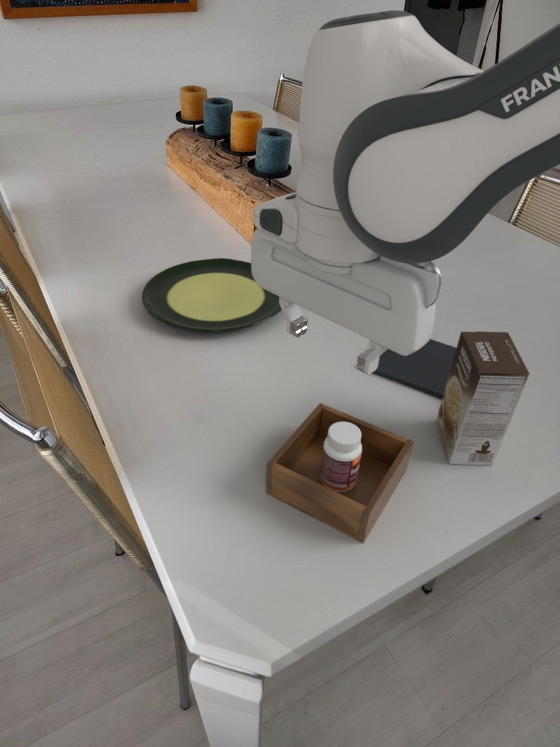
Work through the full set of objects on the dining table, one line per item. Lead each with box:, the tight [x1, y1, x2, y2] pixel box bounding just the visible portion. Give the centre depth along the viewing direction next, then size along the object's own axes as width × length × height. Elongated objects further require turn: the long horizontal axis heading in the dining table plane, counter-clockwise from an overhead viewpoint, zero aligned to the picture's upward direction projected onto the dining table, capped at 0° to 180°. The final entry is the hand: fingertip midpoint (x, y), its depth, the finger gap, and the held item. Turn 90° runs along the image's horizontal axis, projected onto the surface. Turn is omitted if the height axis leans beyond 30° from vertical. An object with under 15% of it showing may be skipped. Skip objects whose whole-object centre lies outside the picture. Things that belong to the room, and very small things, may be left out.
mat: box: [371, 338, 457, 399], centre depth 91 cm, size 20×14×1 cm
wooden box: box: [265, 402, 414, 544], centre depth 69 cm, size 14×14×5 cm
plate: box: [141, 257, 282, 332], centre depth 105 cm, size 28×28×2 cm
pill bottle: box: [320, 422, 362, 493], centre depth 68 cm, size 5×5×8 cm
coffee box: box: [435, 330, 531, 466], centre depth 72 cm, size 9×6×16 cm
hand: (330, 350), depth 57 cm, fingers open, 8 cm apart
